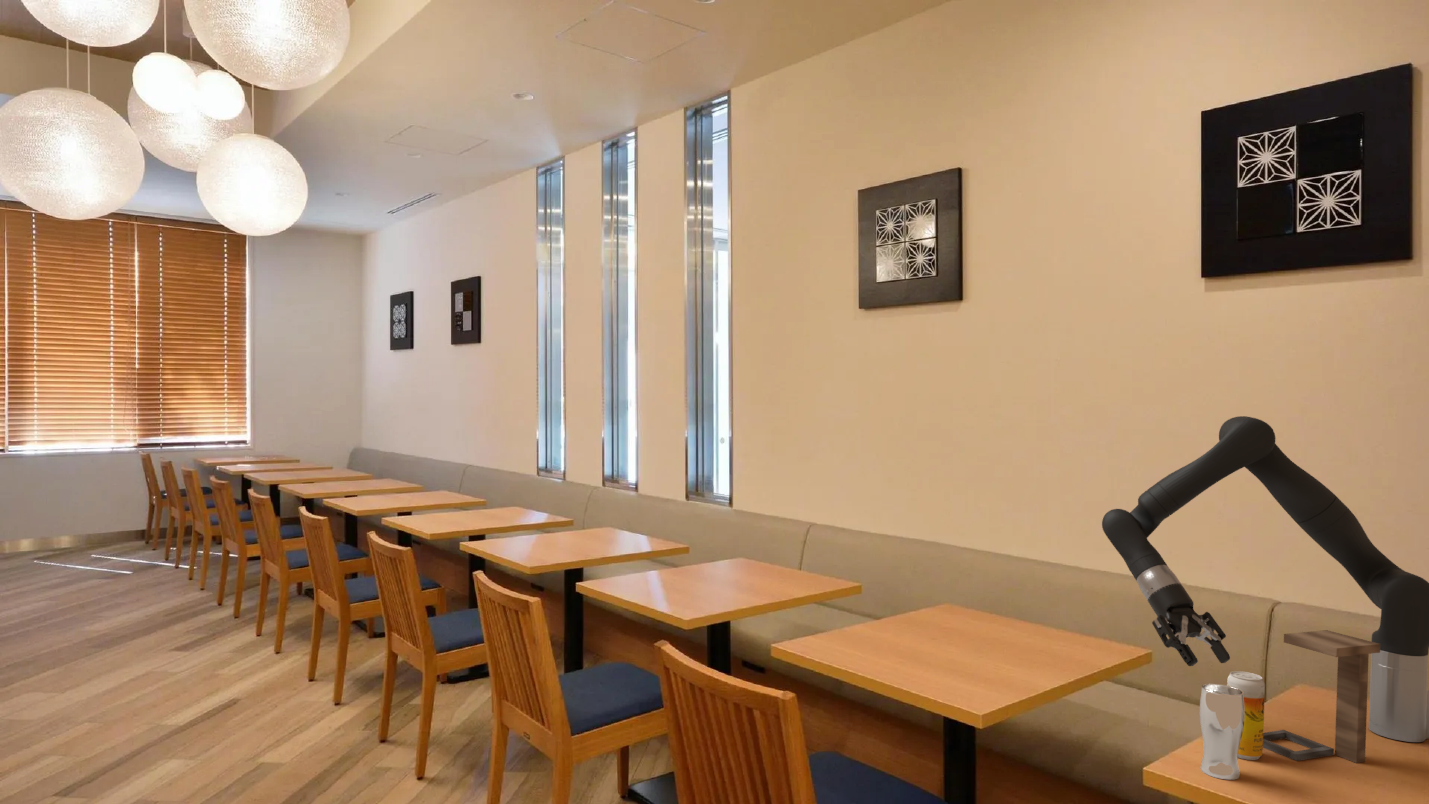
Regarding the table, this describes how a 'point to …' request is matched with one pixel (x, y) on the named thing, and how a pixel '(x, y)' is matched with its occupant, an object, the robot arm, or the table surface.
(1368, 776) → the table surface
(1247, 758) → the beer can
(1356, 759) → the overhang bracket
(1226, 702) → the beer glass
